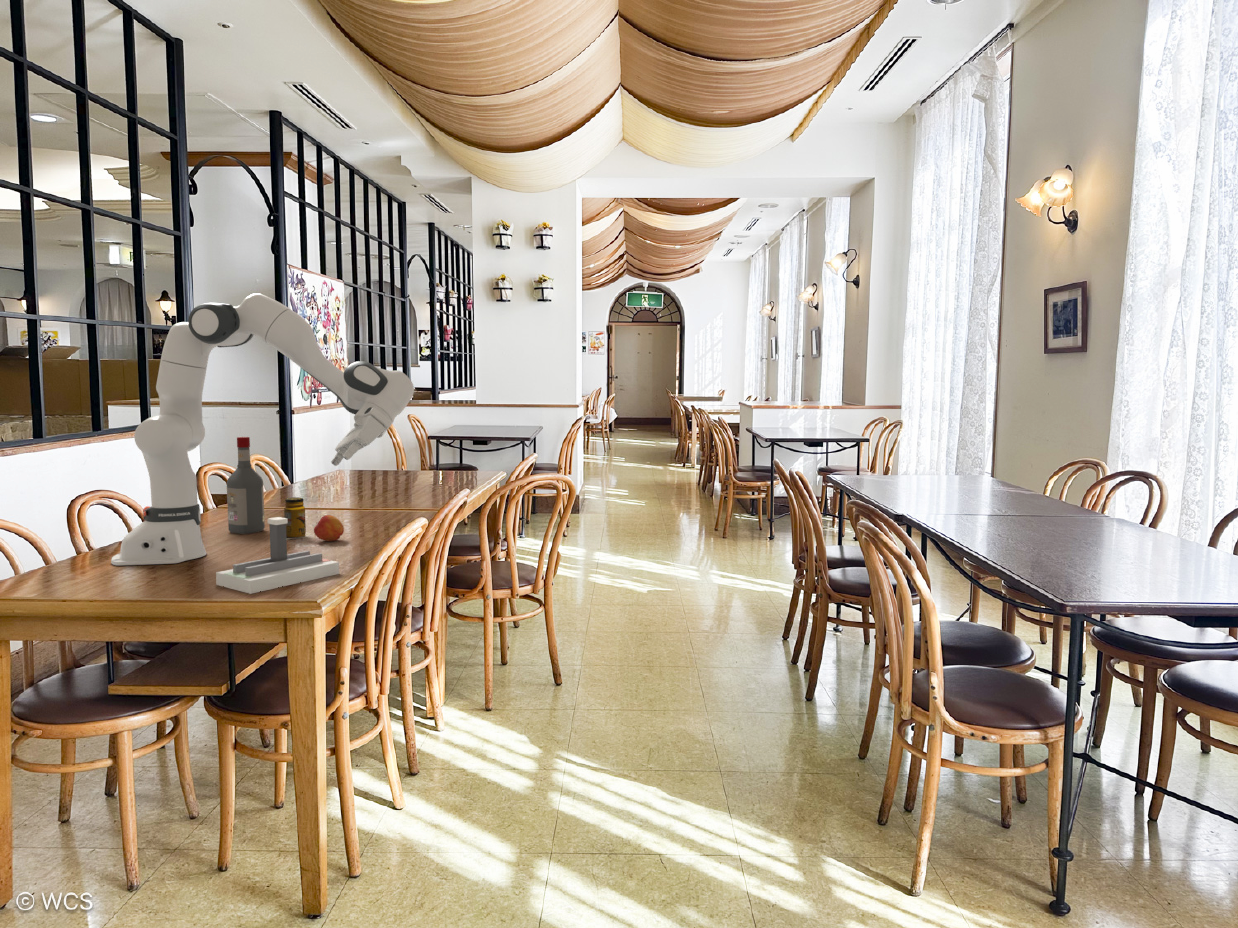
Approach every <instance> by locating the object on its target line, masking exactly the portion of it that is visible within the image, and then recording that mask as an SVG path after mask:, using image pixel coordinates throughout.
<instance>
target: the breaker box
mask: <svg viewBox="0 0 1238 928" xmlns="http://www.w3.org/2000/svg"><path fill="white" fill-rule="evenodd" d="M269 559H271V557H268V558H267V557H266V558H262V559H256V560H252V561H251V560H250V561H245V562H240V563H235V564H232V569H231V568H230V569H227V570H222V571H216V572H215V576H216V578H215V579H216V580H215V582H216V586H220V587H223V586H224V587H223V588H227V589H231V590H234V591H235V590H236V591H239V592H242V593H245V594H249V595H251V594H255V593H259V592H260V591H261V592H264V591H268V590H273V589H278V587H279V588H282V586H283V587H286V586H290V585H297V584H301V583H305V582H309V581H313V580H317V579H318V580H319V579H322V578H327V577H331V576H334V575H339V574H340V562H339V561H335V560H331V559H326V558H323V553H320V552H318V553H314V554H311V551H310V550H303V551H298V552H294V553H293V552H292V553H287V559H286V560H281V561H276V562H271V563H270V560H269ZM300 582H301V583H300Z"/></svg>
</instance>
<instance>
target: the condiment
mask: <svg viewBox="0 0 1238 928" xmlns="http://www.w3.org/2000/svg"><path fill="white" fill-rule="evenodd" d="M304 503H305V502H304V497H296V496H295V497H287V498H285V503H284V505H285V507H284V508H283V515H284V516H283V518H287V519H288V523H287V524H286V538H287V540H294V539H302V538H303V539H305V538H311V535H308V536H306V535H307V529H306V528H307V526H306V507H305V504H304Z"/></svg>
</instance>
